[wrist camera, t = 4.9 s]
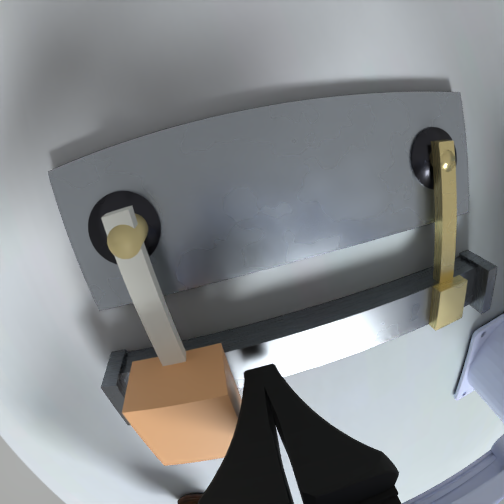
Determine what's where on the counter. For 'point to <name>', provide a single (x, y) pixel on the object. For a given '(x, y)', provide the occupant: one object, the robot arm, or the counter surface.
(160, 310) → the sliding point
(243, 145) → the hole plate
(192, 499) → the bolt
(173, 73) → the counter surface
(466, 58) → the counter surface
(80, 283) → the counter surface
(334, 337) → the rail
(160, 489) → the counter surface
